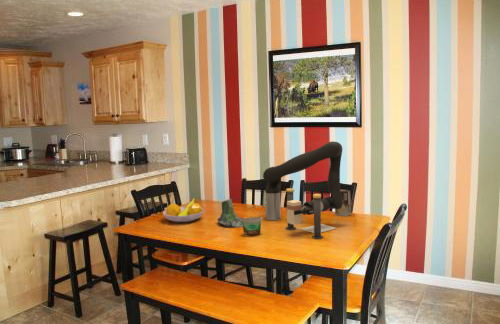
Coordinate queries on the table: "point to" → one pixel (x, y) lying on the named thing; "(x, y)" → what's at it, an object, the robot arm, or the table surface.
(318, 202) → the gate
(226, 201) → the tree stump
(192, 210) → the fruit bowl
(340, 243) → the table surface
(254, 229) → the food container
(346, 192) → the coffee box
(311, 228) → the mat
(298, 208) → the carton
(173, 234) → the table surface
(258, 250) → the table surface
